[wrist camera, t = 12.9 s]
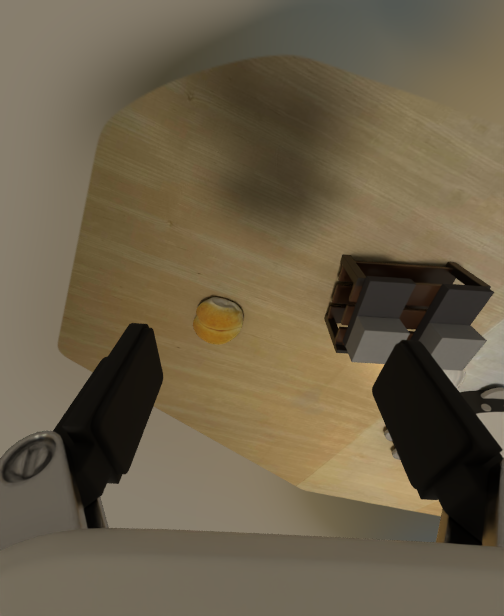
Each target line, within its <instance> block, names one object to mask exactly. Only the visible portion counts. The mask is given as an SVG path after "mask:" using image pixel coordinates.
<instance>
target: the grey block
mask: <svg viewBox="0 0 504 616" xmlns="http://www.w3.org/2000/svg"><path fill="white" fill-rule="evenodd" d="M493 293H494V292H493V291H492V290H490V289H489V288H487V287H486V286H471V285H456V284H442V285H441V287H440V289H439V291H438V292H437V294H436V296H435V298H434V299H433V301H432V303H431V305H430V306H429V308H428V310H427V311H426V313H425V315H424V317H423V318H422V320H421V322H420V324H419V325H418V327H417V329H416V331H415V332H414V334H413V336H412V338H411V339H410V340H416V341H420V342H421V343H422V344H423V345H424V346H425V347H426V349H427V350H428V351H429V353H430V354H431V355H432V357H433V358H434V359H435V361H436V362H437V363H438V365H439V366H440V367H441V369H442V370H458V371H462V370H463V369H464V368H465V367H466V366H467V364H468V363H469V362H470V361H471V359H472V358H473V357H474V356H475V354H476V353H477V352H478V351H479V350H480V348H481V347H482V346H483V345H484V343H485V342H486V341H487V340H485V339H484V338H483V337H482V336H481V335H480V334H479V333H478V332H477V331H476V330H475V329H474V328H473V327H472V326H470V325H471V323H472V322H473V321H474V319H475V318H476V317H477V315H478V314H479V312H480V311H481V310H482V308H483V307H484V306H485V304H486V303H487V302H488V300H489V299H490V297H491V296H492V295H493Z"/></svg>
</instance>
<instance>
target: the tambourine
mask: <svg viewBox="0 0 504 616" xmlns="http://www.w3.org/2000/svg"><path fill="white" fill-rule="evenodd" d="M460 394H461V395H462V396H463V398H464V399H465V400H466V402H467V403H468V404H469V406H470V407H471V408H472V410H473V411H474V412H475V413H476V415H477V416H478V417H479V419H480V420H481V421H482V423H483V424H484V425H485V427H486V428H487V429H488V431H489V432H490V433H491V435H492V436H493V437H494V439H495V440H496V441H497V443H498V444H499V445H500V446H501V448H502V449H503V450H502V451H501V452H500V454H501V455H502V456H503V458H504V388H493V389H490V390H487V391H469V392H461V393H460ZM384 435H385V437H386V439H387V440H389V441H392V439H391V436H390V434H389V432H388V429H387V430H386V431H385V432H384ZM392 455H393V457H394V458H395V459H399V460H400V458H399V455H398V453H397V450H396V449H394V450H393V451H392Z"/></svg>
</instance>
